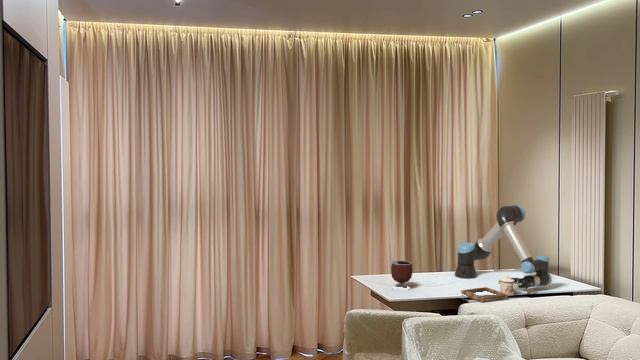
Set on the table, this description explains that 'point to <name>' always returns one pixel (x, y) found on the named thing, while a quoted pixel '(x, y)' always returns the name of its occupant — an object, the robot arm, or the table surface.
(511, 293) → the teacup with lid
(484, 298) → the tray
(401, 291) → the table surface
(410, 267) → the mate gourd
